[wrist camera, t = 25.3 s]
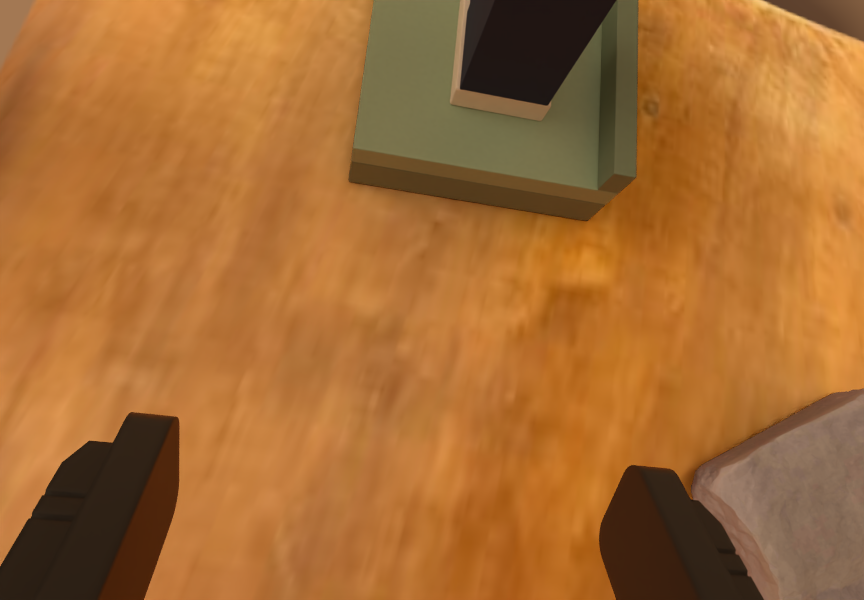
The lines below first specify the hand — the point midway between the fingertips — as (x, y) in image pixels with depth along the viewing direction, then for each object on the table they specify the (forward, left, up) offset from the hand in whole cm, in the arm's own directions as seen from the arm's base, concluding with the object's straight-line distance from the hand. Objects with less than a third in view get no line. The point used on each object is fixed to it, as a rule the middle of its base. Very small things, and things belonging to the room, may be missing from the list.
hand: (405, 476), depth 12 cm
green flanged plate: (+5, +23, -22) cm, 32 cm away
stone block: (+25, 0, -22) cm, 33 cm away
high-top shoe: (+5, +23, -18) cm, 30 cm away
